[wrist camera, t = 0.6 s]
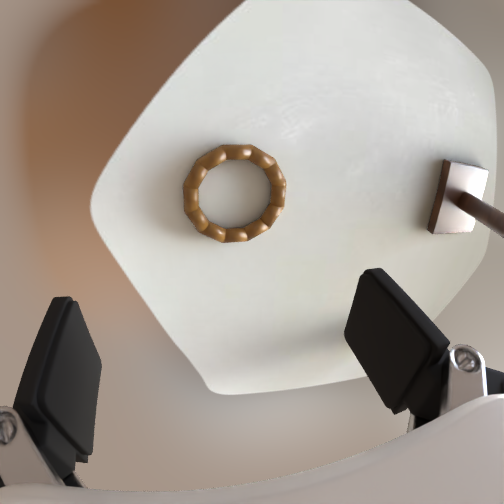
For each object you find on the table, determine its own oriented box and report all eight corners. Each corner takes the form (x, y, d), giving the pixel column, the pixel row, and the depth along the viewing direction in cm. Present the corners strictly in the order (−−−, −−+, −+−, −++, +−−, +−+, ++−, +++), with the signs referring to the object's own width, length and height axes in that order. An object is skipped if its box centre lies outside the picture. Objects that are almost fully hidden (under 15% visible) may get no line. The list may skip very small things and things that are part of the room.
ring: (182, 145, 22) (182, 147, 21) (286, 144, 23) (291, 146, 22) (185, 241, 26) (186, 248, 25) (278, 235, 28) (282, 241, 27)
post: (443, 158, 27) (520, 197, 18) (482, 167, 29) (546, 201, 20) (426, 229, 32) (490, 280, 22) (466, 227, 34) (522, 270, 24)
